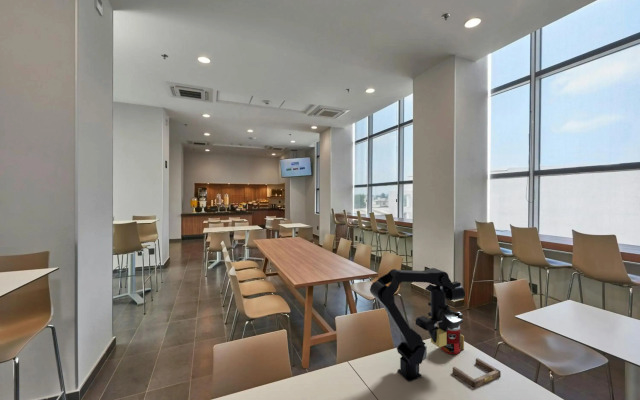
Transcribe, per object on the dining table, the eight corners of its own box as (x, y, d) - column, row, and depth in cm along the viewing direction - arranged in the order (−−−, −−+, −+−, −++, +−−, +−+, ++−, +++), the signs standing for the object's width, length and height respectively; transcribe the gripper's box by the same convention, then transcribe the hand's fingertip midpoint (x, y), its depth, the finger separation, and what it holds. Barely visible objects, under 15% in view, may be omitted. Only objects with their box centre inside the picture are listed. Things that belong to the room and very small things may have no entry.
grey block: (419, 360, 108) (419, 348, 108) (412, 355, 112) (412, 343, 112) (426, 357, 110) (426, 346, 110) (419, 352, 113) (419, 341, 113)
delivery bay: (475, 388, 92) (475, 382, 92) (452, 372, 100) (452, 367, 100) (501, 376, 98) (501, 371, 98) (477, 362, 106) (477, 357, 106)
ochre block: (439, 347, 100) (439, 334, 100) (430, 342, 104) (430, 329, 104) (446, 344, 102) (446, 332, 102) (438, 339, 106) (438, 327, 106)
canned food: (436, 347, 117) (436, 323, 117) (449, 343, 121) (448, 319, 121) (451, 356, 110) (451, 331, 110) (464, 352, 114) (464, 326, 114)
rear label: (463, 349, 115) (463, 336, 115) (453, 344, 120) (453, 331, 120) (464, 349, 115) (463, 336, 115) (454, 344, 120) (454, 331, 120)
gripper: (437, 314, 92) (438, 358, 92) (473, 304, 99) (473, 345, 99) (414, 302, 102) (414, 342, 102) (448, 295, 109) (448, 332, 110)
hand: (438, 340), depth 103 cm, fingers closed on ochre block, 4 cm apart
